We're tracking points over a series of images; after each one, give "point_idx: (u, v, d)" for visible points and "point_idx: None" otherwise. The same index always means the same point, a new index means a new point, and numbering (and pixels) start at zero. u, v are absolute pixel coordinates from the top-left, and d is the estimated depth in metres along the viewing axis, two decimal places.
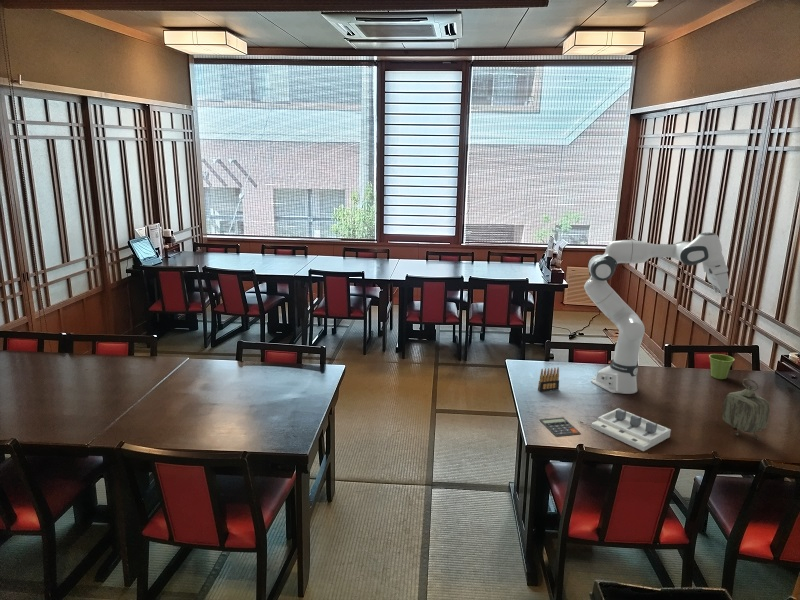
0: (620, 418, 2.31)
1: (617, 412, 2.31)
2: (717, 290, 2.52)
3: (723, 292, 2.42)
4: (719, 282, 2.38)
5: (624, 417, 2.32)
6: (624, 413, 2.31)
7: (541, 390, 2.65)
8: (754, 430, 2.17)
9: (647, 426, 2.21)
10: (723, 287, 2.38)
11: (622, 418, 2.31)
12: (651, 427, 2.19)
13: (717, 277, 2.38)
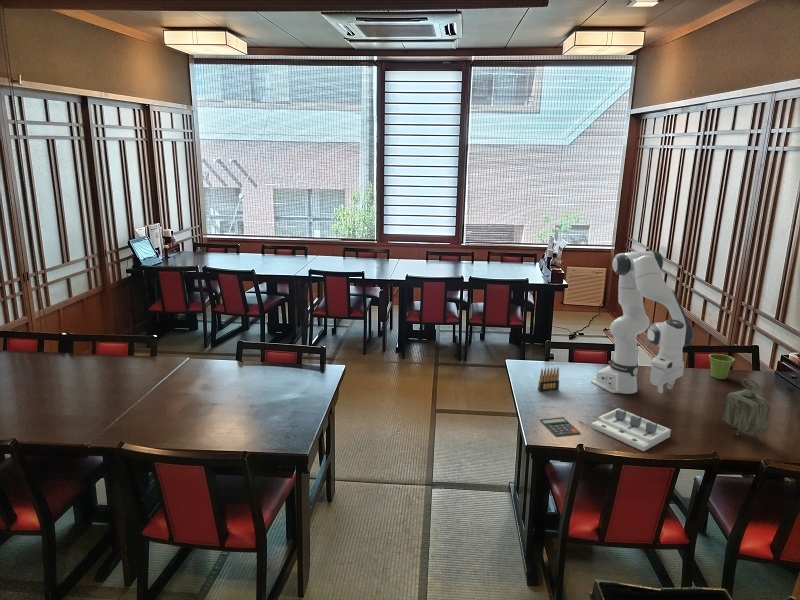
0: (620, 418, 2.31)
1: (617, 412, 2.31)
2: (669, 386, 2.23)
3: (659, 387, 2.18)
4: (651, 375, 2.15)
5: (624, 417, 2.32)
6: (624, 413, 2.31)
7: (541, 390, 2.65)
8: (754, 430, 2.17)
9: (647, 426, 2.21)
10: (652, 382, 2.15)
11: (622, 418, 2.31)
12: (651, 427, 2.19)
13: (652, 369, 2.15)
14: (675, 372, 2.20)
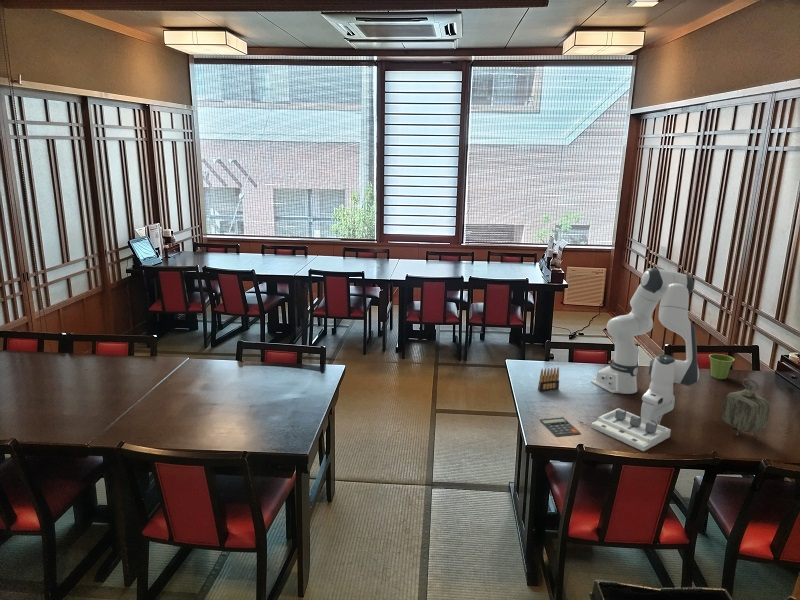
0: (620, 418, 2.31)
1: (617, 412, 2.31)
2: None
3: (654, 420, 2.21)
4: (642, 410, 2.16)
5: (624, 417, 2.32)
6: (624, 413, 2.31)
7: (541, 390, 2.65)
8: (754, 430, 2.17)
9: (647, 426, 2.21)
10: (643, 417, 2.16)
11: (622, 418, 2.31)
12: (651, 427, 2.19)
13: (642, 404, 2.16)
14: (666, 406, 2.21)
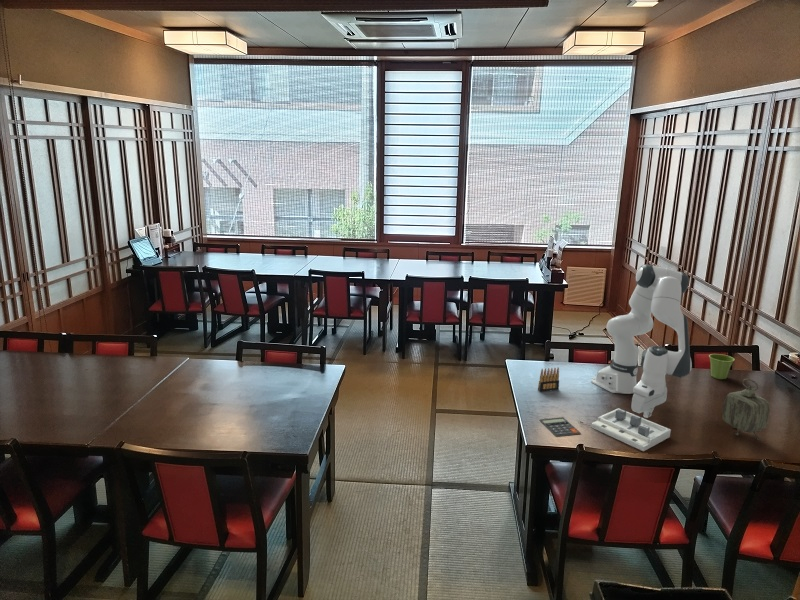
0: (620, 418, 2.31)
1: (617, 412, 2.31)
2: None
3: (645, 412, 2.17)
4: (632, 402, 2.12)
5: (624, 417, 2.32)
6: (624, 413, 2.31)
7: (541, 390, 2.65)
8: (754, 430, 2.17)
9: (639, 430, 2.17)
10: (633, 409, 2.12)
11: (622, 418, 2.31)
12: (643, 431, 2.16)
13: (633, 396, 2.12)
14: (657, 398, 2.17)
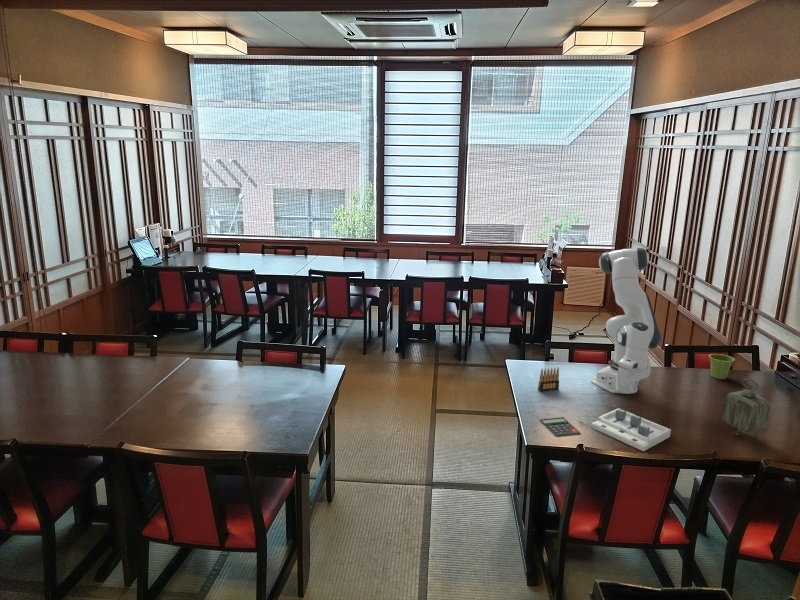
0: (620, 418, 2.31)
1: (617, 412, 2.31)
2: None
3: (630, 386, 2.32)
4: (618, 375, 2.27)
5: (624, 417, 2.32)
6: (624, 413, 2.31)
7: (541, 390, 2.65)
8: (754, 430, 2.17)
9: (639, 430, 2.17)
10: (619, 382, 2.27)
11: (622, 418, 2.31)
12: (643, 431, 2.16)
13: (619, 370, 2.27)
14: (641, 372, 2.32)
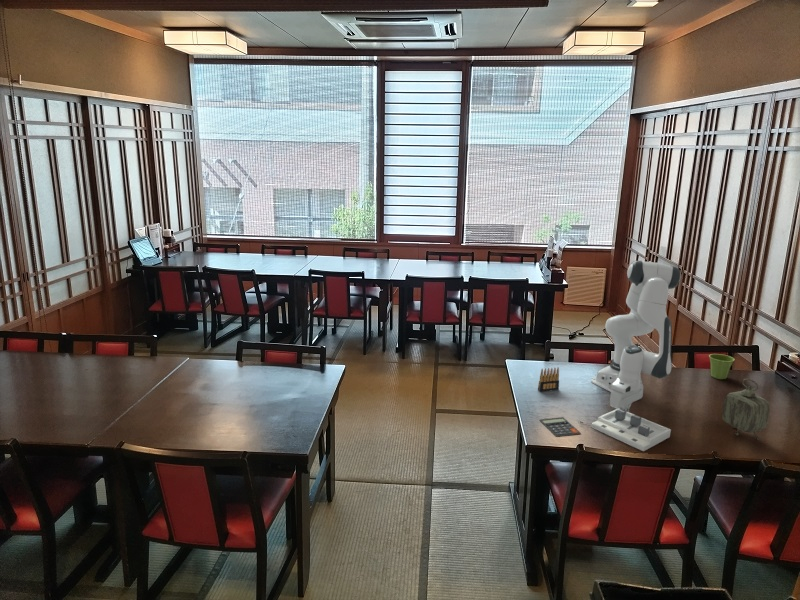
0: (620, 418, 2.31)
1: (617, 412, 2.31)
2: None
3: (623, 408, 2.32)
4: (611, 398, 2.27)
5: (624, 417, 2.31)
6: (624, 413, 2.31)
7: (541, 390, 2.65)
8: (754, 430, 2.17)
9: (639, 430, 2.17)
10: (612, 405, 2.27)
11: (621, 418, 2.30)
12: (643, 431, 2.16)
13: (611, 392, 2.27)
14: (634, 395, 2.32)
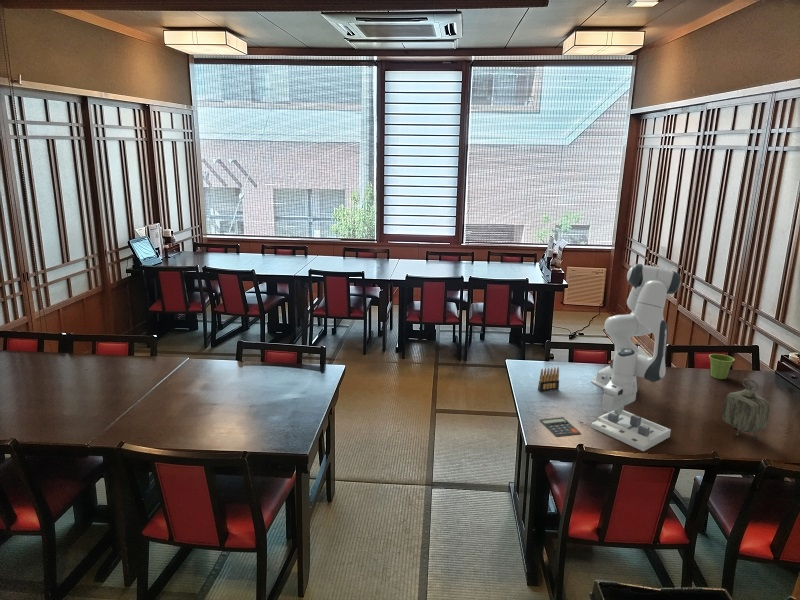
0: (613, 421, 2.27)
1: (609, 415, 2.28)
2: (618, 413, 2.30)
3: (616, 411, 2.29)
4: (603, 401, 2.24)
5: (617, 420, 2.28)
6: (617, 416, 2.28)
7: (541, 390, 2.65)
8: (754, 430, 2.17)
9: (639, 430, 2.17)
10: (604, 408, 2.24)
11: (614, 421, 2.27)
12: (643, 431, 2.16)
13: (604, 395, 2.24)
14: (627, 398, 2.29)
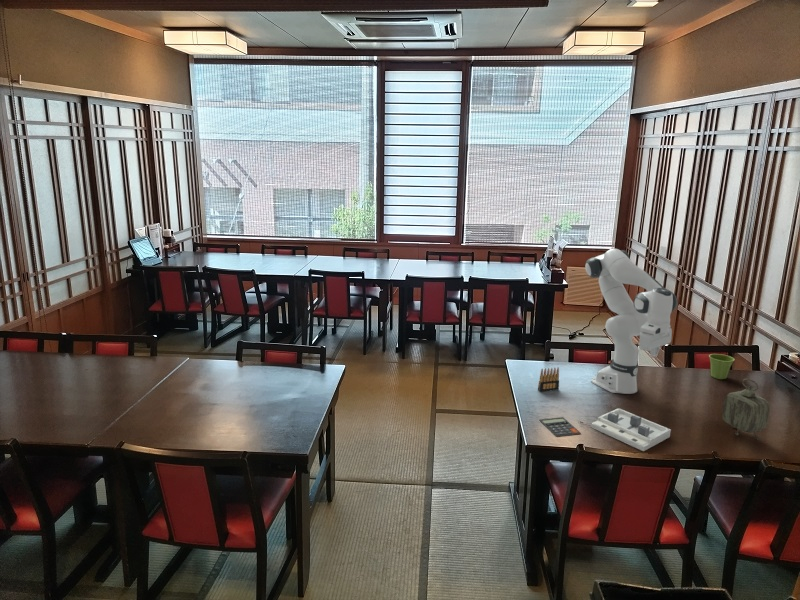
0: None
1: (609, 415, 2.28)
2: None
3: (652, 352, 2.31)
4: (640, 340, 2.26)
5: (616, 421, 2.28)
6: (616, 416, 2.28)
7: (541, 390, 2.65)
8: (754, 430, 2.17)
9: (639, 430, 2.17)
10: (641, 347, 2.25)
11: (614, 421, 2.27)
12: (643, 431, 2.16)
13: (641, 335, 2.26)
14: (663, 338, 2.30)
